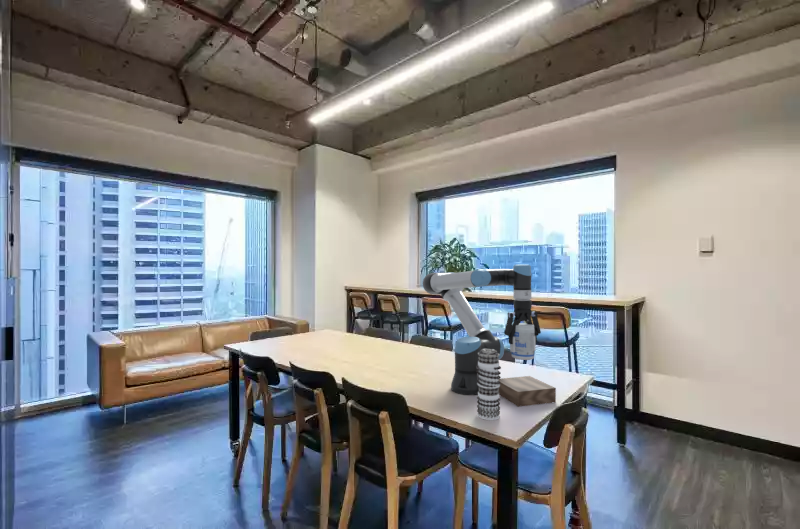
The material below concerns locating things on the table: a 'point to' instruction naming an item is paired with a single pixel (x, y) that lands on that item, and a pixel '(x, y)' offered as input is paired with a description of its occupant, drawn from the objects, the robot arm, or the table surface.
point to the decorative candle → (488, 384)
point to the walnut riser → (526, 391)
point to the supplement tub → (524, 342)
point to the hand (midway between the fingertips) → (522, 350)
